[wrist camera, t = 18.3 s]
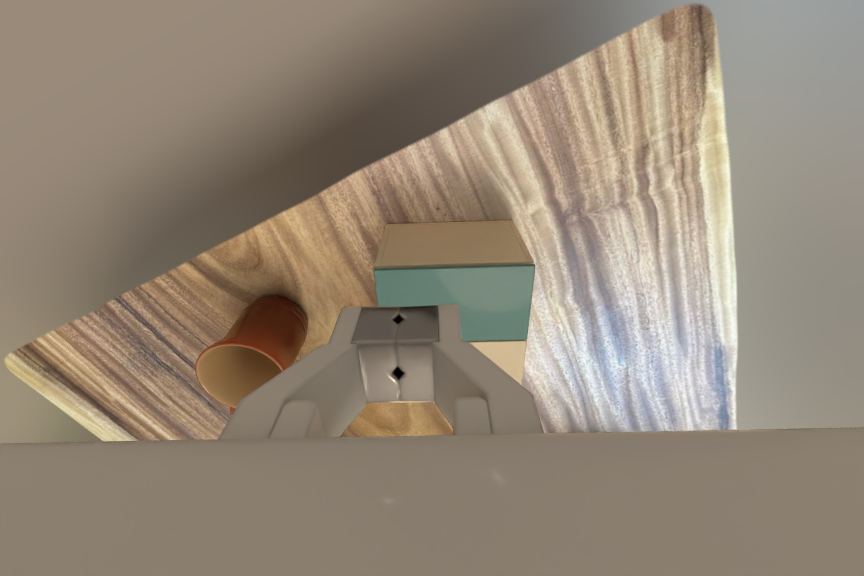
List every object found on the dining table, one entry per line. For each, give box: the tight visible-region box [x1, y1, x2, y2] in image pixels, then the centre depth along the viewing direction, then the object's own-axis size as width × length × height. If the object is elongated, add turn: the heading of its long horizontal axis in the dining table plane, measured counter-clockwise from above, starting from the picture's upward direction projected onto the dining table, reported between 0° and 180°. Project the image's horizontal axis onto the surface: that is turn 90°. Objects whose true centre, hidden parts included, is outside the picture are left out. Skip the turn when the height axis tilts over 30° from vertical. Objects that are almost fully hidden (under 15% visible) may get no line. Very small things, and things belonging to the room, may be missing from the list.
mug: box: [195, 296, 308, 415], centre depth 42 cm, size 12×9×10 cm
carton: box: [374, 220, 534, 403], centre depth 39 cm, size 15×13×10 cm
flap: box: [374, 264, 535, 341], centre depth 32 cm, size 7×13×1 cm, turn 92°
